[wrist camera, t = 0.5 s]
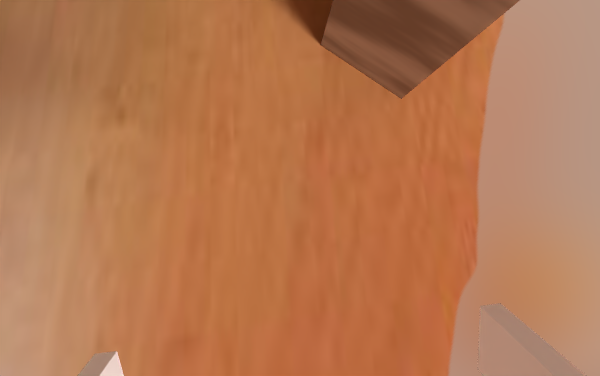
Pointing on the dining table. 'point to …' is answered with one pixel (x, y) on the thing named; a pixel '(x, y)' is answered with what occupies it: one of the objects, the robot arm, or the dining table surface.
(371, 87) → the dining table surface
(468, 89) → the dining table surface
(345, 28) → the stand
